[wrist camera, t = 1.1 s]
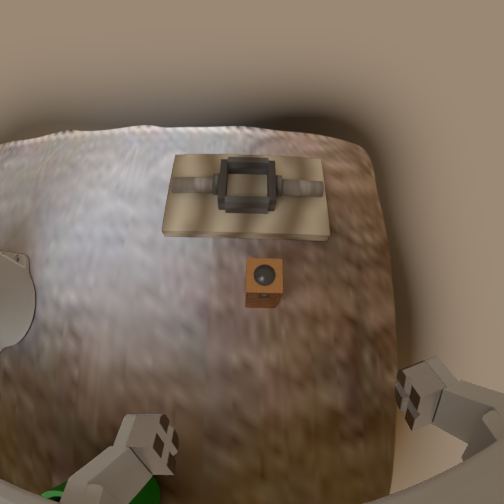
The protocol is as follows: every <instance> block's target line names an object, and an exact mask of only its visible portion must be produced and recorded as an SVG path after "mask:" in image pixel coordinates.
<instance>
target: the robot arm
mask: <svg viewBox="0 0 504 504" xmlns="http://www.w3.org/2000/svg"><path fill="white" fill-rule="evenodd" d="M34 309H35V290H34V285H33V282H32V279H31V277H30V273H29V258H28V257H27V256H26V255H24V254H18V253H12V252H5V251H0V351H1V350H2V349H3V348H5V347H8V346H12V345H15V344H16V343H18V342H19V341H20V340H21V339H22V338H23V337H24V336H25V334H26V333H27V331H28V329H29V327H30V325H31V322H32V319H33V315H34ZM397 379H398V381H399V383H398V384H397V385H396V387H395V398H396V402H397V405H398V407H399V409H400V410H401V411H404V412H406V415H405V420H406V421H407V423H408V425H409V427H410V429H411V430H412V431H413V430H416V429H418V428H421V427H423V426H426V425H428V424H431V423H433V425H435V426H437V427H439V428H440V429H442V430H444V431H446V432H448V433H449V434H451V435H453V436H455V437H457V438H459V439H460V440H462V441H464V442H466V443H468V446H467V448H466V450H465V452H464V453H463V455H462V459H463V462H462V463H460V464H458V465H456V466H454V467H452V468H450V469H449V470H446V471H444V472H442V473H440V474H438V475H436V476H434V477H432V478H430V479H428V480H425V481H423V482H421V483H419V484H416V485H414V486H412V487H409V488H407V489H405V490H402V491H399V492H397V493H394V494H391V495H388V496H386V497H383V498H380V499H377V500H374V501H371V502H368V503H364V504H504V394H503V393H500V392H497V391H493V390H490V389H487V388H484V387H481V386H477V385H475V384H472V383H468V382H465V381H462V380H461V381H459V382H458V380H457V379H456V378H455V377H454V376H453V374H452V373H451V372H450V371H449V370H448V368H447V367H446V366H445V365H444V364H443V363H442V361H441V360H440V359H439V358H438V357H436V356H433V357H431V358H428V359H426V360H424V361H421V362H418V363H415V364H413V365H410V366H407V367H405V368H402V369H399V371H398V372H397ZM178 448H179V441H178V436H177V433H176V431H175V429H174V428H173V427H171V426H169V419H168V418H167V416H166V415H164V414H127V415H126V416H125V417H124V418H123V421H122V424H121V426H120V429H119V432H118V434H117V437H116V440H115V442H114V445H113V446H109V447H108V448H107V449H105V450H104V451H103V452H102V453H100V454H99V455H98V456H97V457H95V458H94V459H93V460H92V461H90V462H89V463H88V464H86V465H85V466H84V467H83V468H81V469H80V470H79V471H77V472H76V473H75V474H73V475H72V476H71V477H69V479H68V482H67V484H66V487H65V489H64V492H63V494H62V497H61V499H60V502H56V501H53V500H50V499H47V498H44V497H42V496H39V495H36V494H34V493H31V492H29V491H26V490H24V489H22V488H19V487H17V486H15V485H12V484H10V483H8V482H6V481H4V480H2V479H0V504H129V503H130V501H131V500H132V499H133V498H134V497H135V496H136V495H137V494H138V492H139V491H140V490H141V489H142V488H143V487H144V486H145V484H146V483H147V482H148V481H149V480H150V479H151V477H152V476H153V475H174V471H175V466H176V460H175V458H174V457H173V456H174V455H175V454H176V453H177V452H178Z"/></svg>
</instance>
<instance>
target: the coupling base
mask: <svg viewBox="0 0 504 504" xmlns="http://www.w3.org/2000/svg"><path fill="white" fill-rule="evenodd" d="M162 232H163V234H164V236H165V237H211V238H250V239H283V240H313V241H327V240H328V238H329V237H330V228H329V218H328V209H327V201H326V193H325V185H324V178H323V171H322V164H321V159H313V158H299V157H284V156H263V155H227V154H194V155H175V160H174V164H173V169H172V174H171V179H170V185H169V190H168V195H167V201H166V207H165V213H164V219H163V225H162Z"/></svg>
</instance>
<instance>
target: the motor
mask: <svg viewBox="0 0 504 504" xmlns="http://www.w3.org/2000/svg"><path fill="white" fill-rule="evenodd" d="M67 482H68V481H66V482H64V483H62V484H60V485H58V486H56V487H55V488H53V489H51V490H49V491H47V492H45V493H43V494H42V495H41V496H42V497H44V498H47V499H50V500H53V501H56V502H60V499H61V497H62V494H63V492H64V489H65V487H66V484H67ZM160 499H161V492H160V488H159V485H158V483H157V481H156V479H155V478H154V476H152V477H151V479H150V480H149V481H148V482H147V483H146V484H145V486H144V487H143V488H142V489H141V490H140V491H139V492H138V494H137V495H136V496H135V497H134V498H133V499H132V500H131V501H130V503H129V504H159V503H160Z"/></svg>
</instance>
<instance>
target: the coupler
mask: <svg viewBox="0 0 504 504" xmlns="http://www.w3.org/2000/svg"><path fill="white" fill-rule="evenodd" d="M282 294H283V270H282V259H271V258H247V266H246V298H245V307H248V308H275V307H276V305H277V304H278V302H279V300H280V298H281V296H282Z"/></svg>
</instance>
